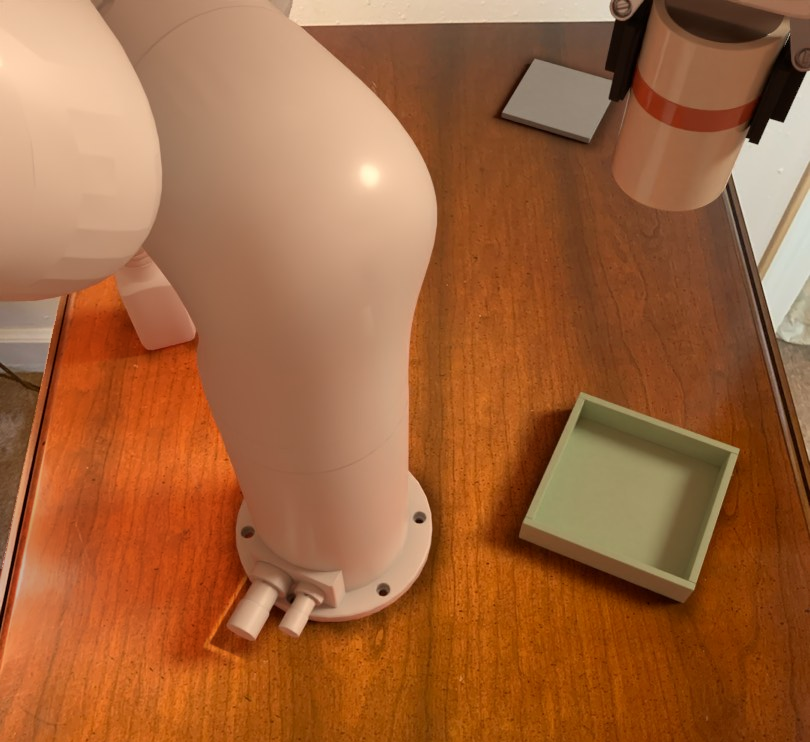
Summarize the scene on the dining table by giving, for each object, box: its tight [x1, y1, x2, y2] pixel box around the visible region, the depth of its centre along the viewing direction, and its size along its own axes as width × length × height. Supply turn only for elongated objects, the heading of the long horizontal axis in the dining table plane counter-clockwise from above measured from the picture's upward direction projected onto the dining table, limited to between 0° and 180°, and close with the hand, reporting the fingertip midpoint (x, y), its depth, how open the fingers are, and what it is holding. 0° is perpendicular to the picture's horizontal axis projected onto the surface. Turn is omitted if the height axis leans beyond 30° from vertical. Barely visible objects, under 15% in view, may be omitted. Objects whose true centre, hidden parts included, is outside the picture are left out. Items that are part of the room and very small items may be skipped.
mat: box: [501, 58, 613, 144], centre depth 71 cm, size 8×8×1 cm
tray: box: [518, 391, 741, 604], centre depth 53 cm, size 11×11×2 cm
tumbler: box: [611, 0, 790, 212], centre depth 41 cm, size 6×6×9 cm
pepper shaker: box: [113, 247, 197, 351], centre depth 56 cm, size 4×4×10 cm
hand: (691, 102), depth 42 cm, fingers closed on tumbler, 6 cm apart
